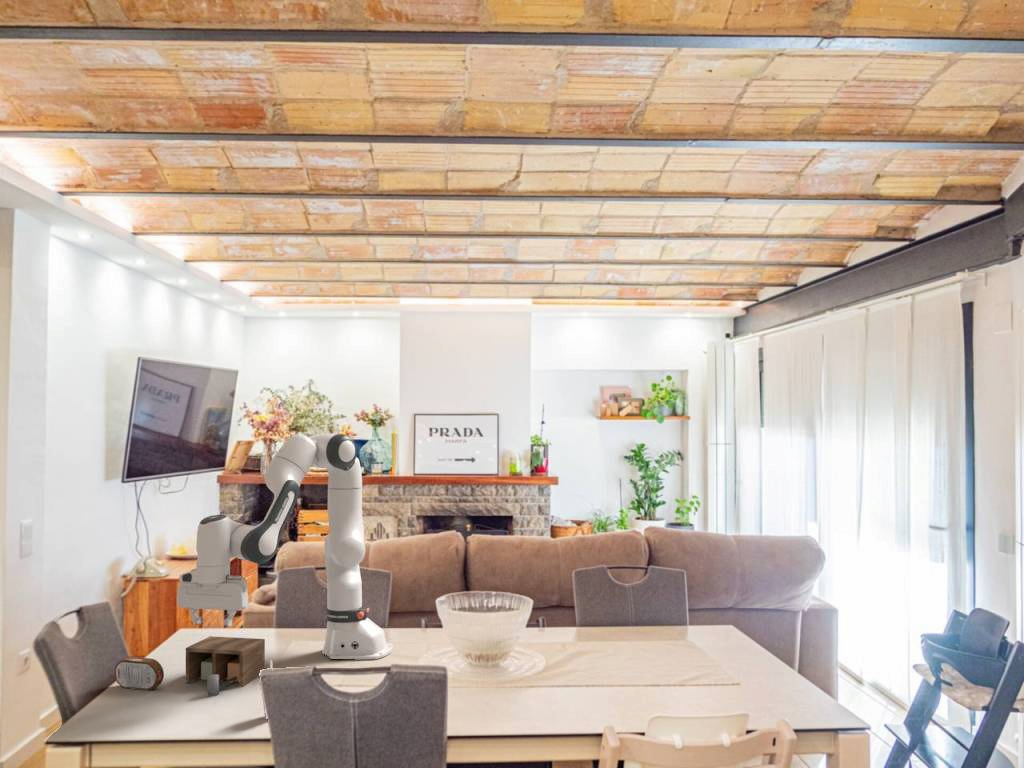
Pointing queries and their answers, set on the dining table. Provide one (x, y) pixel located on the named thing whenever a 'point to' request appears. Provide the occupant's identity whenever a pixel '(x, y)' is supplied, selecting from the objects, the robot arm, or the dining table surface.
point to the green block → (206, 668)
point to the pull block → (232, 676)
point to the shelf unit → (226, 657)
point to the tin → (139, 673)
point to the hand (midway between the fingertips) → (212, 625)
